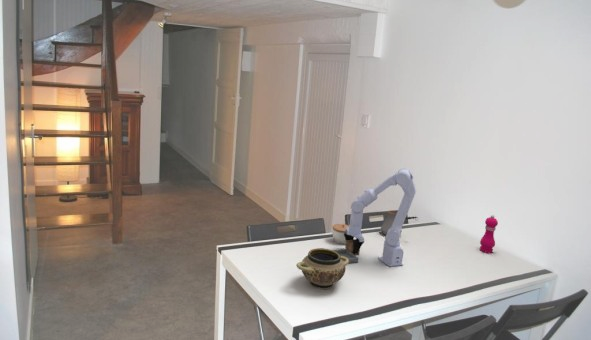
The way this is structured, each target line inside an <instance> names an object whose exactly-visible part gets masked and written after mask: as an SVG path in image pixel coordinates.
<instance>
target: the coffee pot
mask: <svg viewBox="0 0 591 340" xmlns="http://www.w3.org/2000/svg"><path fill="white" fill-rule="evenodd" d="M397 212H398V211H396V210H388V211H387V213H388V215H387V217H386V218H385V220H384V221H383V223H382V225H381V226H380V231H381V233H382V234H383V235H384V236H386V235H387V232H388V230H389V229H390V228H391V227H392V225H393V222H394V219H395V217H396V214H397ZM405 220H415V221H419V218H418V217H417V216H408V217H407V216H406V218H405ZM401 233H402V229H401Z"/></svg>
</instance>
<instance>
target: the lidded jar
mask: <svg viewBox="0 0 591 340" xmlns="http://www.w3.org/2000/svg"><path fill="white" fill-rule="evenodd" d="M346 227H349V225H348V224H345V223H336V224H333V225H332V233H331V234H332V237H333V240H335V242H336V243H338V244H341V245H342V244H343V245H346V240H345V236H344V233H347V232H345V228H346Z"/></svg>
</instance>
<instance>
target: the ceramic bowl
mask: <svg viewBox="0 0 591 340" xmlns="http://www.w3.org/2000/svg"><path fill="white" fill-rule="evenodd" d="M333 250H334V249H330V248H325V247H321V248H320V247H318V248H311V249H310V250H309V251H308V253H307V255H306V256H305V257H304V258H303V259H302V260H301V261H299V262H297V263H296V268H297V269H298V270H300V271H301V272H302V274H303V276H304V277H305V278H306V279H307V280H308V281H309V284H310V285H311V286H312V287H314V288H316V289H320V290H328V289H331V288H332V287H333V286H334V284H336V283H339V281H341V280H342V278H343V277H344V275H345V274H346V266H348V265H349V264H348V263H349V260H348V258H346V257H343V256H340V254H339V253H337V252H335V251H333ZM342 260H345V262H344V261H342Z"/></svg>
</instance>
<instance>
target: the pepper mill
mask: <svg viewBox="0 0 591 340" xmlns="http://www.w3.org/2000/svg"><path fill="white" fill-rule="evenodd" d="M495 217H496V216H495V215H494V214H491V215H490V217H487V218H486V219H485V222H484V223H485V232H484V234H483V236H482V237H481V239H480V242H479V244H480V247H479V251H480V252H482V253H485V254H492V253H493V252H494V251H493V250H494V249H493V248H495V246H496V240H495V236H494V235H495V231H496V228H497V226H498V220H497V219H496V218H495Z"/></svg>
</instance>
